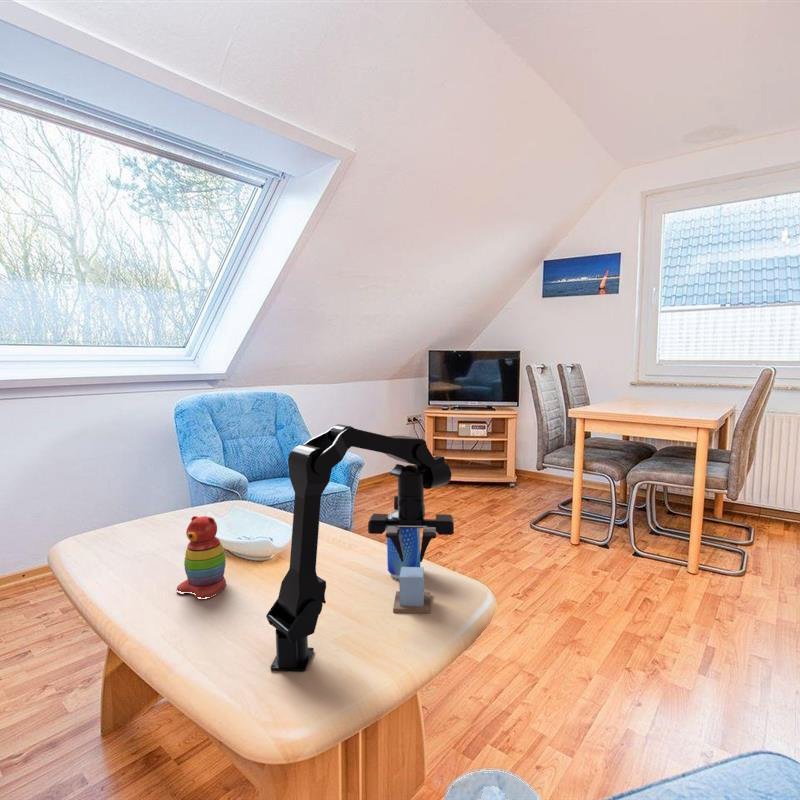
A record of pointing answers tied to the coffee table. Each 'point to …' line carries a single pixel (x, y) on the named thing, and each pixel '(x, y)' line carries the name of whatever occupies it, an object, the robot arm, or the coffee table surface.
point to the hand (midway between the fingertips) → (411, 561)
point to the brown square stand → (412, 609)
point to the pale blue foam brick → (411, 586)
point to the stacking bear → (203, 559)
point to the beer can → (409, 548)
